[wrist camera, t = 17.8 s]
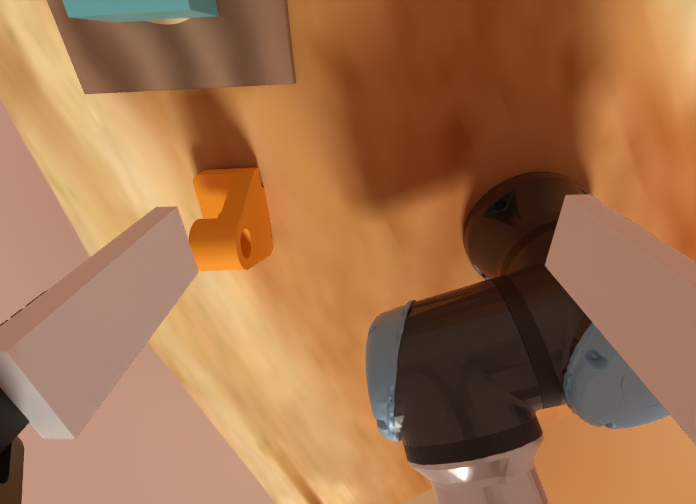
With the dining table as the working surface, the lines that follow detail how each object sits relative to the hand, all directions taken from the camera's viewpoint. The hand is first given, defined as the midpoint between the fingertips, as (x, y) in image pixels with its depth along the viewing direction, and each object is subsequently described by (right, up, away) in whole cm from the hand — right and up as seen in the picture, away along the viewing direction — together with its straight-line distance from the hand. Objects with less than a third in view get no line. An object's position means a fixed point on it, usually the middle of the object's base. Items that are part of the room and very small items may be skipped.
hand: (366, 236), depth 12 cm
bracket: (-14, +5, +31) cm, 35 cm away
